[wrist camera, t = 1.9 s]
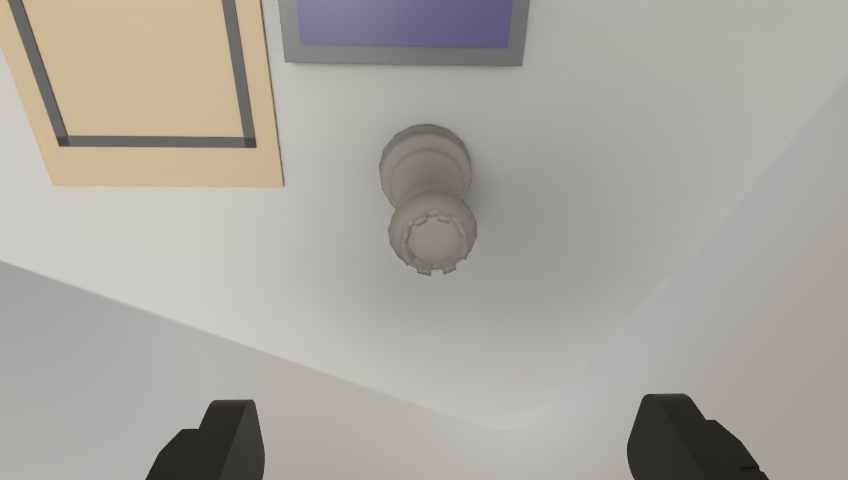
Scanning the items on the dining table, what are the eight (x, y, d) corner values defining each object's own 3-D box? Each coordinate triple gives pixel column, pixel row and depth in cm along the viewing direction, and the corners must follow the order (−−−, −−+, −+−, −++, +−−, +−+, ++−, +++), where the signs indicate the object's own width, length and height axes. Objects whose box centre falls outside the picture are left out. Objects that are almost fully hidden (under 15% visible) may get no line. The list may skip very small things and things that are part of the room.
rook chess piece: (405, 105, 22) (407, 163, 15) (486, 148, 24) (522, 221, 17) (364, 184, 24) (349, 269, 17) (441, 221, 25) (457, 314, 18)
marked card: (242, -144, 18) (240, -145, 17) (284, 185, 24) (282, 187, 24) (-70, -154, 17) (-77, -156, 17) (55, 184, 23) (52, 186, 23)
